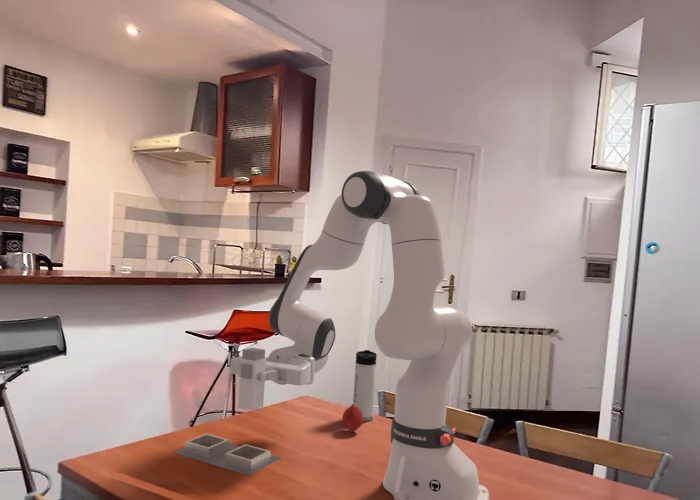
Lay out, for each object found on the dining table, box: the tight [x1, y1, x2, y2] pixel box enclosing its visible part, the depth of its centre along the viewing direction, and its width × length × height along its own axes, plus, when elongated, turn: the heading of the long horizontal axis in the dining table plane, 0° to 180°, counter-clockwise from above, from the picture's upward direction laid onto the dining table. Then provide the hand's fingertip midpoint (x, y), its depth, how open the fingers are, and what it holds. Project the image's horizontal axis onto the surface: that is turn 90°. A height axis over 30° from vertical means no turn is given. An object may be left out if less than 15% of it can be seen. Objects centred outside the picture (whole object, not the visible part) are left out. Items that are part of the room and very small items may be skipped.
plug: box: [237, 347, 267, 412], centre depth 121 cm, size 4×5×13 cm
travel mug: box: [352, 349, 378, 422], centre depth 161 cm, size 6×7×20 cm
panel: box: [172, 433, 281, 477], centre depth 124 cm, size 22×12×3 cm, turn 63°
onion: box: [342, 402, 364, 433], centre depth 148 cm, size 6×6×8 cm
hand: (250, 375), depth 120 cm, fingers closed on plug, 4 cm apart
